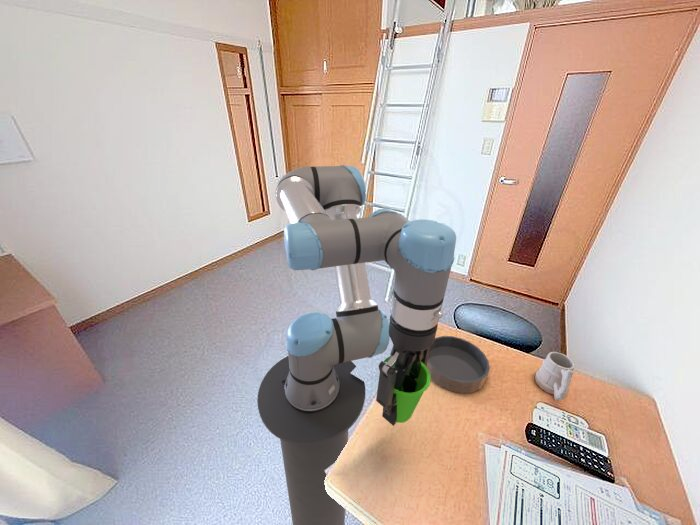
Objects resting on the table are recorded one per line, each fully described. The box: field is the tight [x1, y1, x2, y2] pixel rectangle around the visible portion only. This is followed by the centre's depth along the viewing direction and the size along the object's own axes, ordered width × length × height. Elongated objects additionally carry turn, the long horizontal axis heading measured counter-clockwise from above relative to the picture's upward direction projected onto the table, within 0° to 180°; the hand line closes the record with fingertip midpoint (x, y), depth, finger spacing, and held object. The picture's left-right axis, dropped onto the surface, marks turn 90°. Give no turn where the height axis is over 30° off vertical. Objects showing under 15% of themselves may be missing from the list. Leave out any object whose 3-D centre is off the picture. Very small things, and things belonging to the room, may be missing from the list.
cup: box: [383, 355, 432, 424], centre depth 54 cm, size 9×9×11 cm
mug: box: [534, 351, 576, 402], centre depth 79 cm, size 8×12×12 cm, turn 161°
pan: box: [427, 335, 491, 394], centre depth 87 cm, size 18×18×4 cm
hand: (398, 409), depth 57 cm, fingers closed on cup, 5 cm apart
